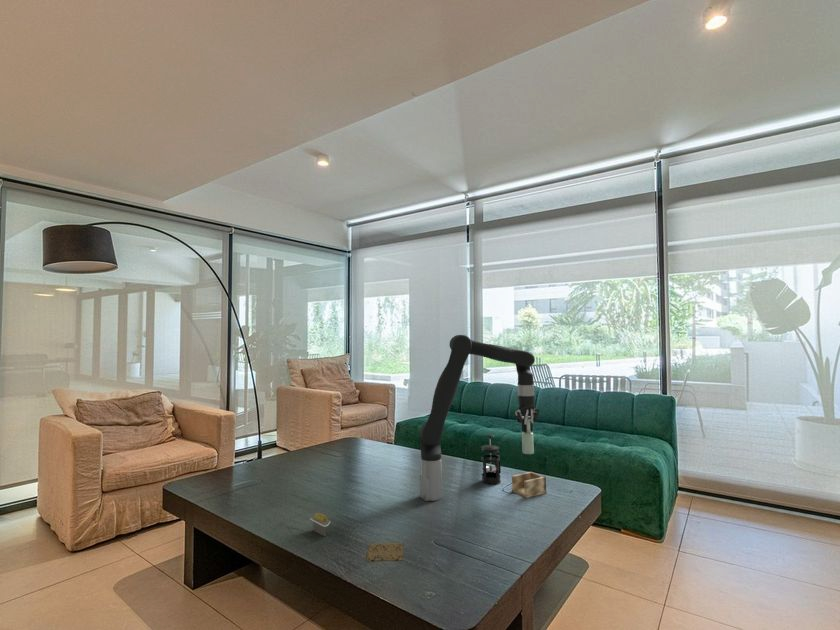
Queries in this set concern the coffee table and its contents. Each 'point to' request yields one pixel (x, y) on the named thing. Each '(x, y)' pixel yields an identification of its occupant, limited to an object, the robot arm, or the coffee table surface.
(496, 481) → the french press
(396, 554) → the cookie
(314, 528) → the plastic food container
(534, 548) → the coffee table surface
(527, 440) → the pale green pin
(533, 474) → the u rest
